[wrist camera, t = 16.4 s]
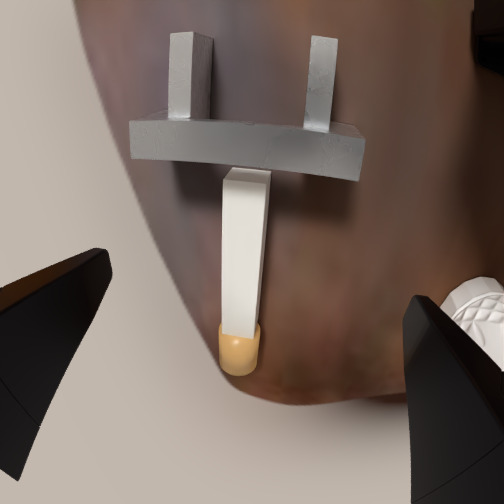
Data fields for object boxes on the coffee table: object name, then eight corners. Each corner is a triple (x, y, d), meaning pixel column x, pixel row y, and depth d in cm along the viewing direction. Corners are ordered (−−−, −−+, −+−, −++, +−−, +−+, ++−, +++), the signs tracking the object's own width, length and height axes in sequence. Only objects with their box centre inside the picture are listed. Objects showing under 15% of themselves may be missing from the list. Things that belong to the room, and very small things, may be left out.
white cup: (464, 256, 19) (521, 358, 11) (522, 284, 19) (573, 370, 11) (413, 331, 24) (435, 435, 15) (473, 347, 24) (501, 435, 15)
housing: (360, 51, 14) (377, 42, 10) (347, 156, 18) (358, 181, 14) (168, 40, 16) (129, 34, 12) (167, 139, 19) (130, 158, 15)
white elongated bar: (226, 166, 19) (212, 183, 17) (277, 172, 19) (272, 189, 16) (224, 344, 28) (215, 371, 25) (259, 350, 28) (253, 378, 25)
